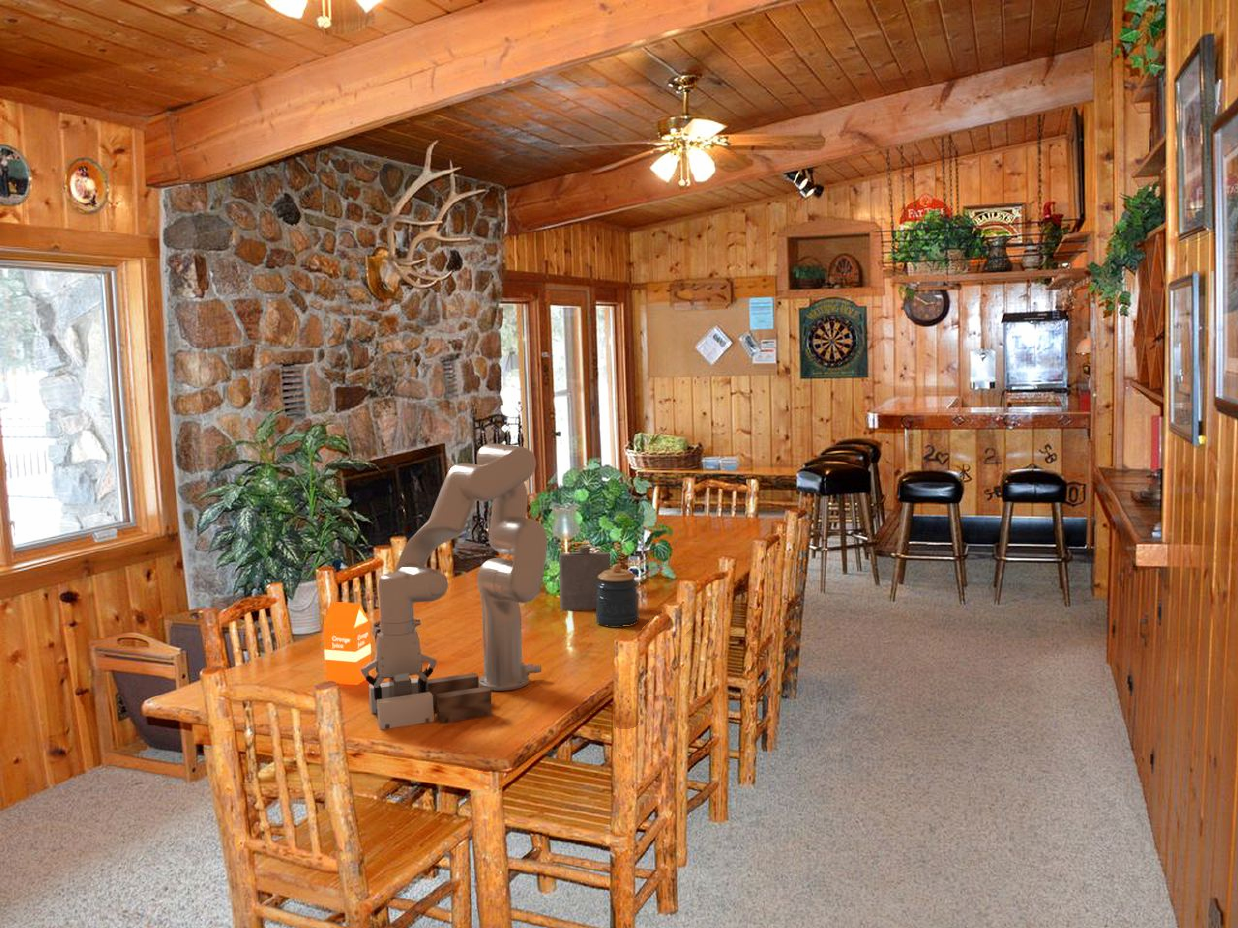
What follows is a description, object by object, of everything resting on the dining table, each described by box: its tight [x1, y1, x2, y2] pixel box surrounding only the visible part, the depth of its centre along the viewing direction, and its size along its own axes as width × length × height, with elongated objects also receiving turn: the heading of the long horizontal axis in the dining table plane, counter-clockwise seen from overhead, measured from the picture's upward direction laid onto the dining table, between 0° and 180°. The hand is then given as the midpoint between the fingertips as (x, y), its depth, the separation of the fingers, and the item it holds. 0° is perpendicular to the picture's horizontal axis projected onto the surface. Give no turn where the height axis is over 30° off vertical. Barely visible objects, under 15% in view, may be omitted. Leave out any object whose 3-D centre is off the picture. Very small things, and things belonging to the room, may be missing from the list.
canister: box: [595, 563, 640, 626], centre depth 328 cm, size 13×13×18 cm
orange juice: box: [323, 601, 373, 686], centre depth 279 cm, size 8×9×20 cm
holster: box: [426, 672, 493, 724], centre depth 256 cm, size 12×14×6 cm
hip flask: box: [558, 545, 611, 611], centre depth 344 cm, size 16×4×20 cm, turn 95°
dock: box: [368, 677, 435, 730], centre depth 253 cm, size 12×14×6 cm
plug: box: [388, 673, 412, 697], centre depth 253 cm, size 4×6×11 cm, turn 22°
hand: (400, 699), depth 253 cm, fingers open, 9 cm apart
